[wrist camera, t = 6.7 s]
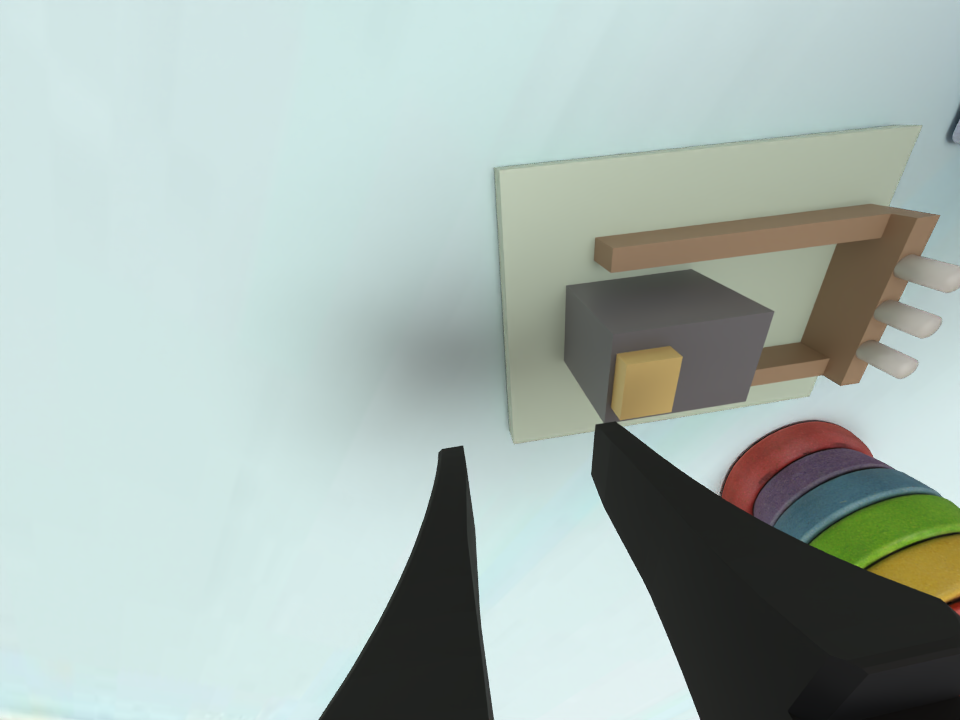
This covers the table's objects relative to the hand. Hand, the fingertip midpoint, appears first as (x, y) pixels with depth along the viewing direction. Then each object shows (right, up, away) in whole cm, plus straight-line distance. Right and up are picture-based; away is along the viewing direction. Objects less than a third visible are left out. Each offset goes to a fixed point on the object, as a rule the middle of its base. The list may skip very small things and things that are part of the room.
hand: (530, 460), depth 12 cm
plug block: (+6, +5, +8) cm, 11 cm away
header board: (+9, +6, +9) cm, 14 cm away
